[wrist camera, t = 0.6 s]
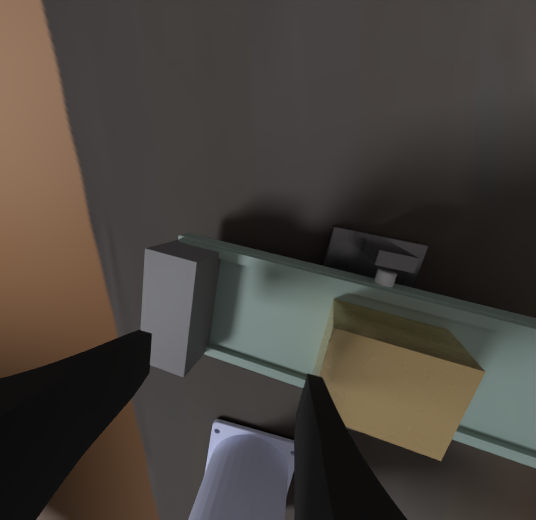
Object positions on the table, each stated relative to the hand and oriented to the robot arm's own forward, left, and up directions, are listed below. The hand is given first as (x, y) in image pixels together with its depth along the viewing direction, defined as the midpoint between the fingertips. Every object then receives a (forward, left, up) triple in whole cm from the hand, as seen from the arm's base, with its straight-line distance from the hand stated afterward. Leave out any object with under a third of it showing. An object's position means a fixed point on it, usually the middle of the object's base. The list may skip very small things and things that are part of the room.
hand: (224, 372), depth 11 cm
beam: (0, -7, -5) cm, 9 cm away
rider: (0, -7, -5) cm, 9 cm away
